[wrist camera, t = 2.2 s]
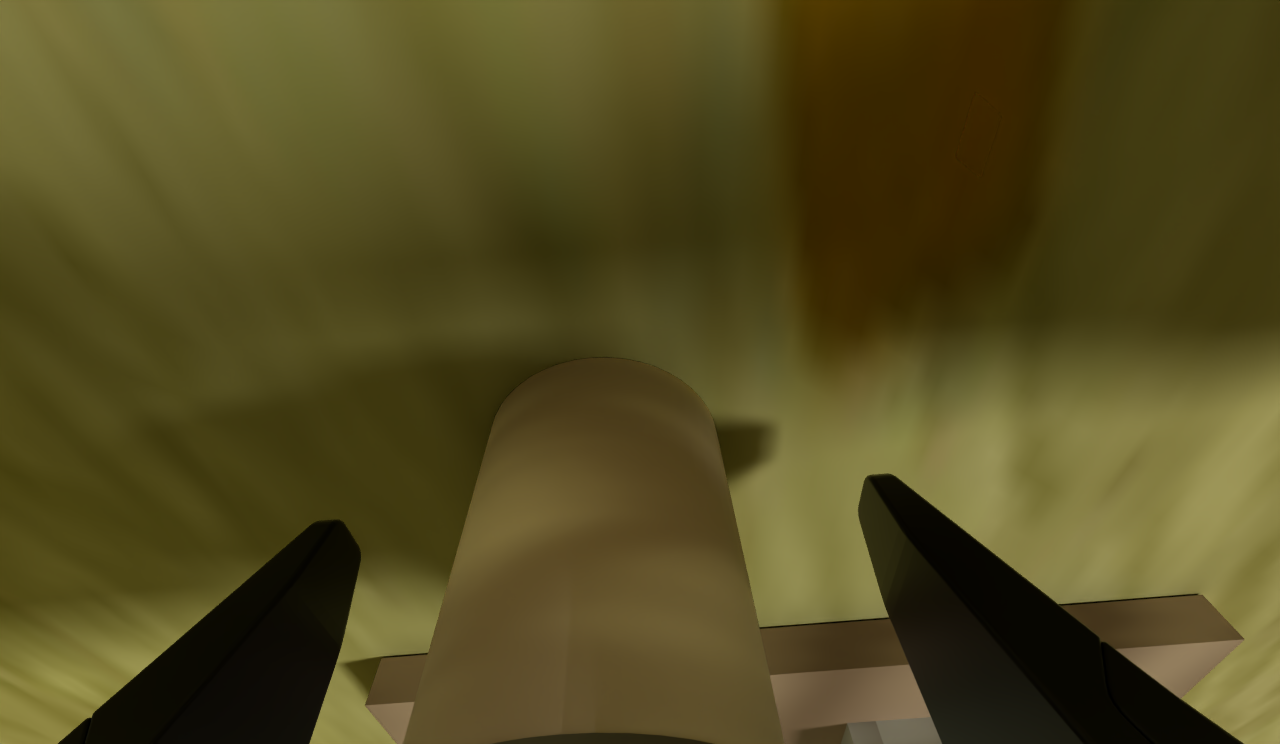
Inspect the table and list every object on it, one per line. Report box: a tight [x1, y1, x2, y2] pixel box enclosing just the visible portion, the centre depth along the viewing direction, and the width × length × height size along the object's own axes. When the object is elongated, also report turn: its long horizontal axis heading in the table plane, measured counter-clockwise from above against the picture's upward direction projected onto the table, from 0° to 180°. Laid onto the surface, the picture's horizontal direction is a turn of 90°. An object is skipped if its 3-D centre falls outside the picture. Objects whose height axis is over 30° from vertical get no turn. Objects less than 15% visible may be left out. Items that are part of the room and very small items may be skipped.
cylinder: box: [403, 357, 785, 744], centre depth 8 cm, size 4×4×7 cm
